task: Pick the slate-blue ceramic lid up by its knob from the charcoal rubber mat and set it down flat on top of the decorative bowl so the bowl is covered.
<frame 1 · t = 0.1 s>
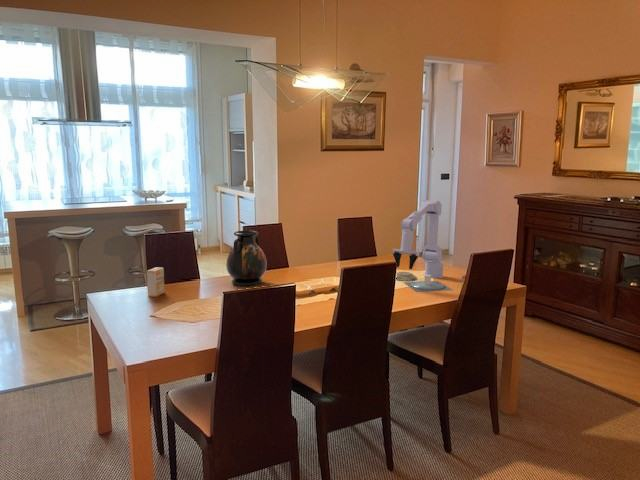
hand: (404, 268, 266), 11 cm above the table, tool pointing down, fingers open, 7 cm apart
supplement box: (156, 295, 253), on the table
cupcake: (469, 287, 268), on the table
amphora vase: (247, 283, 276), on the table
lid: (427, 280, 269), on the mat
decorative bowl: (404, 280, 287), on the table
mat: (427, 286, 269), on the table
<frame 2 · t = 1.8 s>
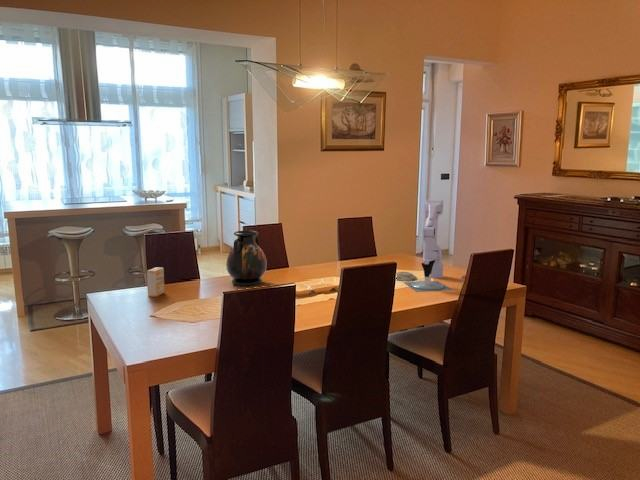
hand: (427, 275, 268), 6 cm above the table, tool pointing down, fingers open, 7 cm apart
nothing on the table moved.
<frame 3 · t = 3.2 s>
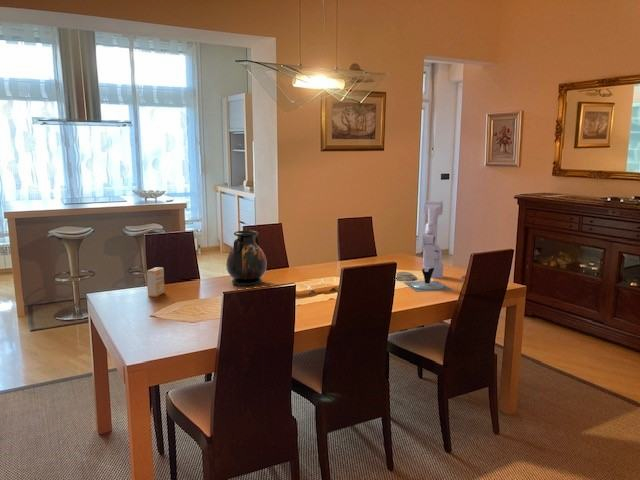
hand: (427, 282, 269), 2 cm above the table, tool pointing down, fingers closed on lid, 3 cm apart
lid: (427, 280, 269), on the mat, touching gripper
everything else where it was.
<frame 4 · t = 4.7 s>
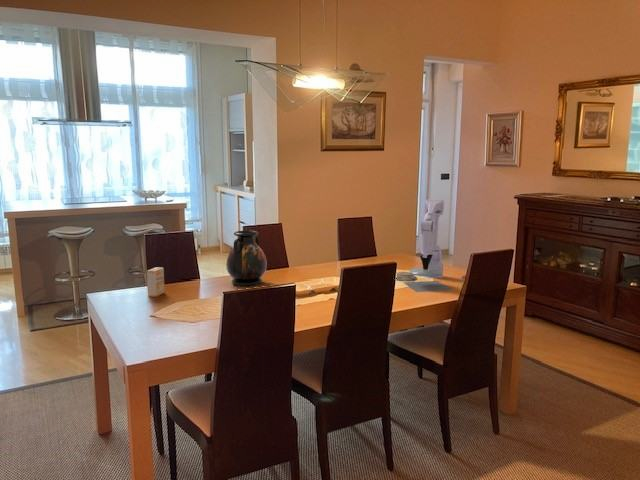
hand: (426, 268, 269), 9 cm above the table, tool pointing down, fingers closed on lid, 3 cm apart
lid: (426, 267, 269), point 10 cm above the table, touching gripper
everything else where it was.
when the fingers open (8 cm above the table, at t = 6.4 s): lid drops 2 cm, resting on decorative bowl.
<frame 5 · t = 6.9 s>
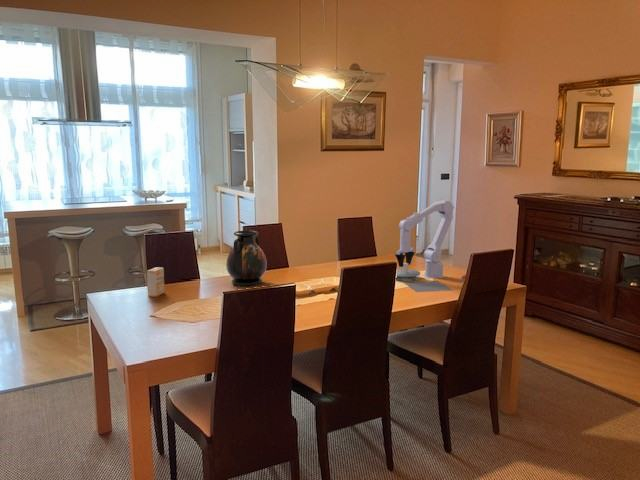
hand: (404, 265, 285), 8 cm above the table, tool pointing down, fingers open, 7 cm apart
lid: (404, 268, 285), point 6 cm above the table, touching decorative bowl
decorative bowl: (404, 280, 287), on the table, touching lid
everything else where it was.
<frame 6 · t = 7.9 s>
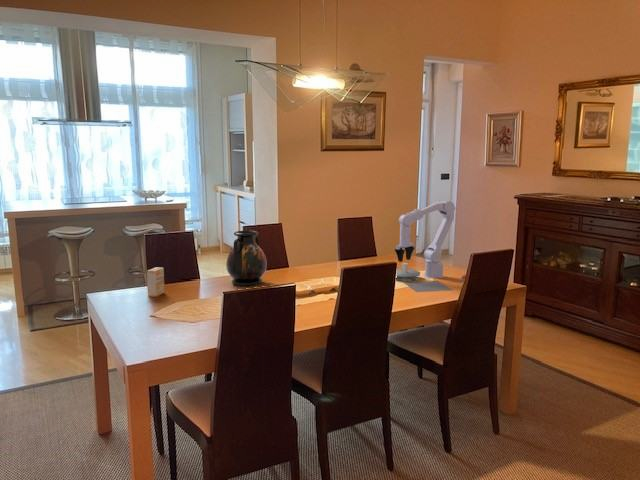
hand: (404, 260, 285), 10 cm above the table, tool pointing down, fingers open, 7 cm apart
lid: (404, 268, 285), point 6 cm above the table
decorative bowl: (404, 280, 287), on the table
everything else where it was.
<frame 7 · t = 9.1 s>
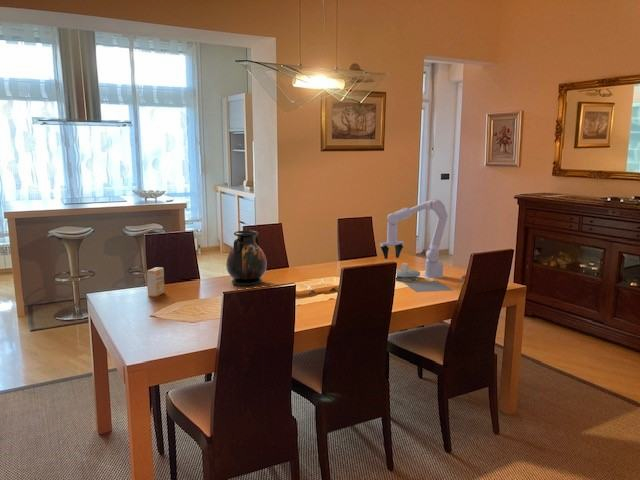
hand: (391, 258, 292), 10 cm above the table, tool pointing down, fingers open, 7 cm apart
lid: (404, 268, 286), point 6 cm above the table, touching decorative bowl
decorative bowl: (404, 280, 287), on the table, touching lid
everything else where it was.
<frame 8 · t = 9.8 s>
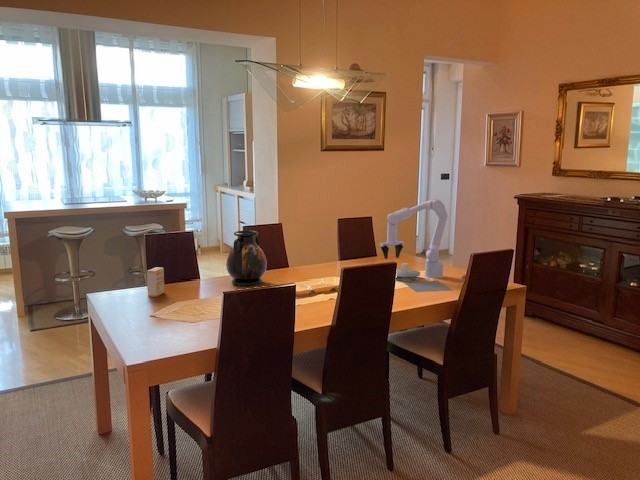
hand: (391, 258, 292), 10 cm above the table, tool pointing down, fingers open, 7 cm apart
nothing on the table moved.
at the end: lid 0.2 cm from the decorative bowl (horizontally); lid point 5.9 cm above the table; lid tilted 0° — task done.
